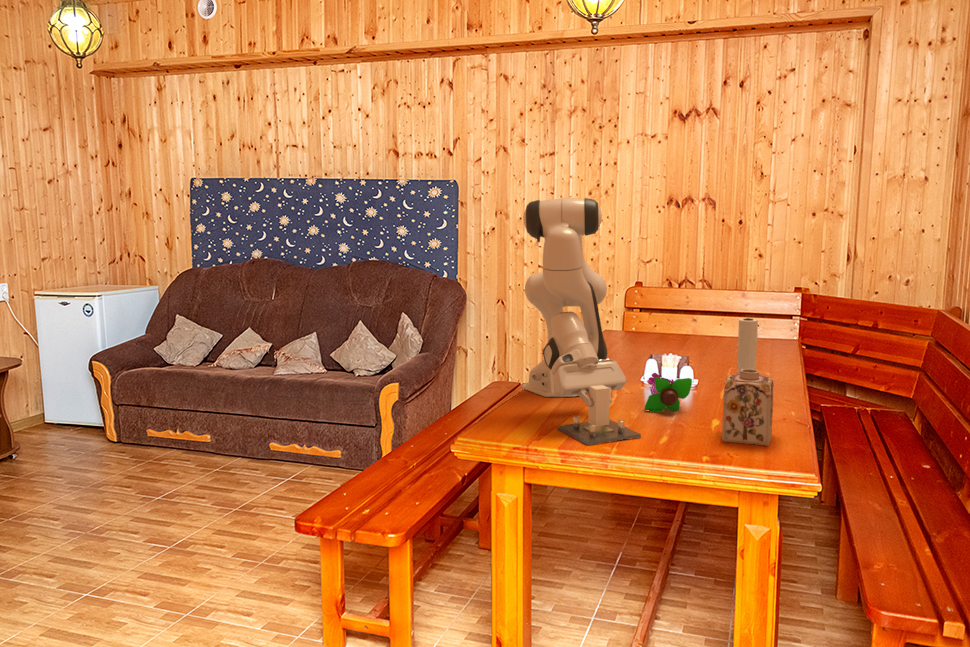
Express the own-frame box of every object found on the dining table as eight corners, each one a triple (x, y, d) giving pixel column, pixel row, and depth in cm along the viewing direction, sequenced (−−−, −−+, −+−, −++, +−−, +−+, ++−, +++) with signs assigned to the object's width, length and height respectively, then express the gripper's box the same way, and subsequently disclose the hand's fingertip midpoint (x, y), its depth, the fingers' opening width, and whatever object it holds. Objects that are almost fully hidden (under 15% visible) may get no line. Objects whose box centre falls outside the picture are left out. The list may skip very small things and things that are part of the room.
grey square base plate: (557, 429, 221) (557, 415, 220) (608, 422, 227) (608, 408, 226) (587, 445, 206) (587, 430, 205) (640, 437, 212) (641, 422, 212)
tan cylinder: (749, 384, 269) (751, 321, 266) (733, 381, 274) (735, 319, 270) (760, 381, 274) (763, 318, 270) (744, 378, 278) (746, 316, 275)
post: (588, 422, 217) (588, 386, 215) (601, 420, 219) (601, 384, 217) (596, 426, 213) (596, 389, 212) (609, 424, 215) (609, 388, 213)
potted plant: (656, 430, 233) (641, 408, 268) (706, 401, 232) (684, 383, 266) (634, 393, 233) (622, 376, 268) (685, 364, 231) (666, 351, 266)
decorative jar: (726, 429, 218) (728, 364, 216) (772, 434, 214) (775, 367, 211) (721, 442, 208) (723, 373, 205) (769, 447, 203) (772, 377, 200)
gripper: (610, 364, 228) (628, 406, 221) (545, 371, 221) (562, 415, 213) (619, 351, 224) (638, 394, 216) (553, 358, 216) (570, 402, 208)
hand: (600, 404), depth 215 cm, fingers closed on post, 4 cm apart
